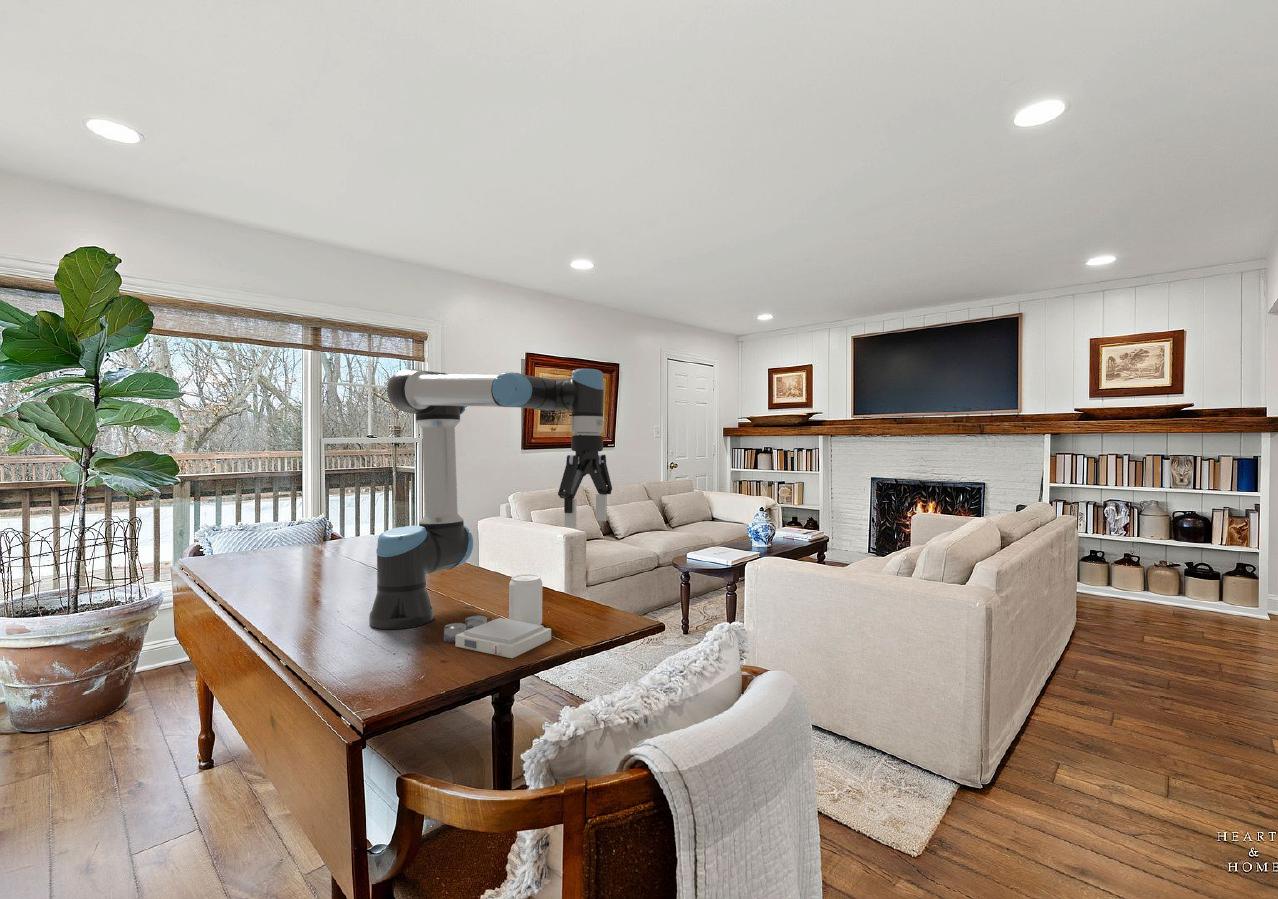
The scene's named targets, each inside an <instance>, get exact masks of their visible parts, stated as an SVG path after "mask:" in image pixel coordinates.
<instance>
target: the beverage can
mask: <svg viewBox="0 0 1278 899" xmlns="http://www.w3.org/2000/svg"><path fill="white" fill-rule="evenodd" d="M510 579H511V580H510V581H509V584H508V585H509V587H508V588H509V589H508V596H509V597H508V598H509V599H508V600H509V601H508V605H509V606H508V607H509V609H508V619H509V620H514V621H520V622H526V623H531V624H537V625H542V624H543V581H542V579H541V575H537V574H519V575H513V576H512V577H511V578H510Z"/></svg>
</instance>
